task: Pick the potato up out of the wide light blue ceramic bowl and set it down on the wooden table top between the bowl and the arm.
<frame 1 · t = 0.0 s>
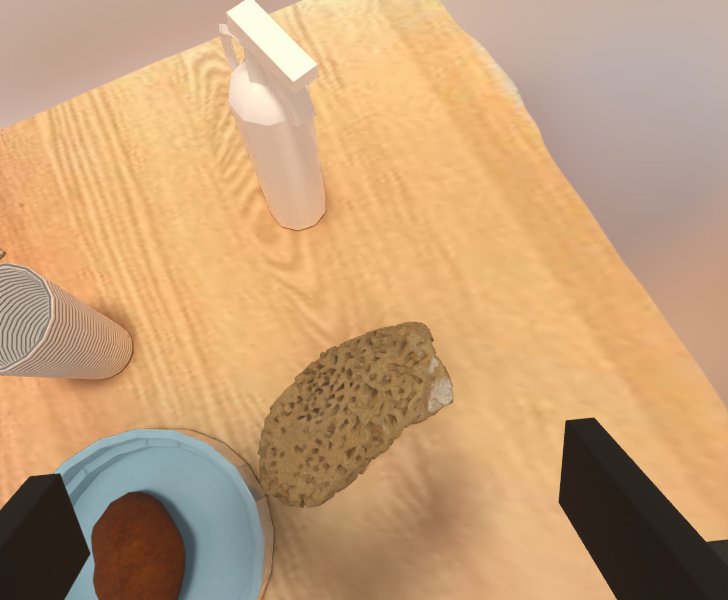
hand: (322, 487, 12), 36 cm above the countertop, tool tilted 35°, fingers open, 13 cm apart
cup: (106, 351, 50), on the countertop
sponge: (352, 413, 48), on the countertop
bowl: (160, 547, 44), on the countertop
potato: (159, 547, 44), resting on bowl
fire extinguisher: (294, 198, 55), on the countertop
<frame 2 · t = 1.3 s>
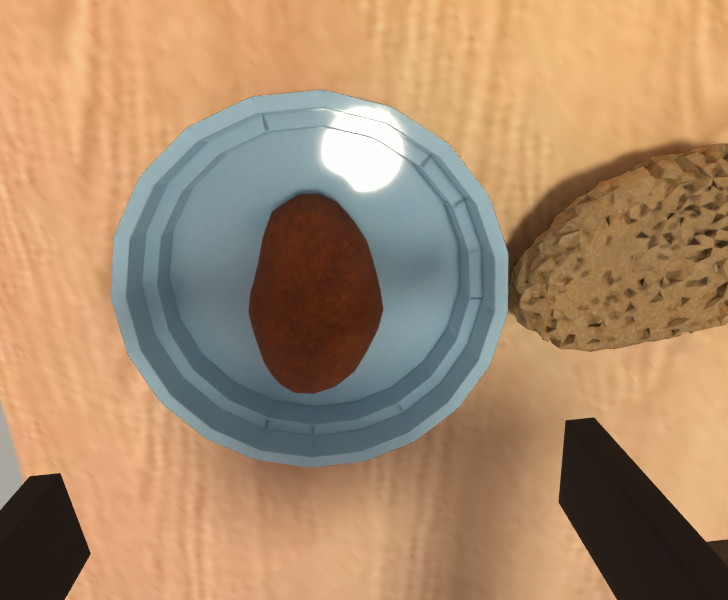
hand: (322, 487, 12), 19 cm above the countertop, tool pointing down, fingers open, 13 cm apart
sponge: (646, 242, 31), on the countertop
bowl: (318, 278, 31), on the countertop
potato: (318, 279, 30), resting on bowl
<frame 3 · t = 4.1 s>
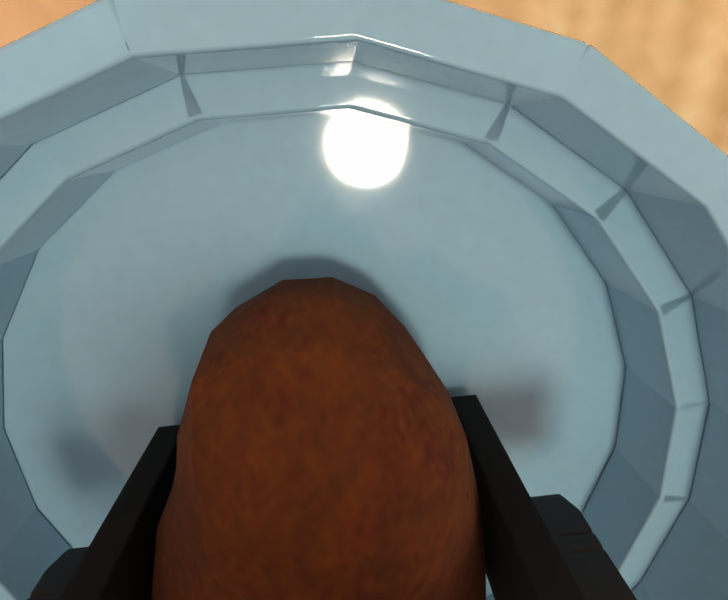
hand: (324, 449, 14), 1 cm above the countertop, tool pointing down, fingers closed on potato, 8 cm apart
bowl: (326, 429, 15), on the countertop
potato: (326, 433, 15), resting on bowl, touching gripper
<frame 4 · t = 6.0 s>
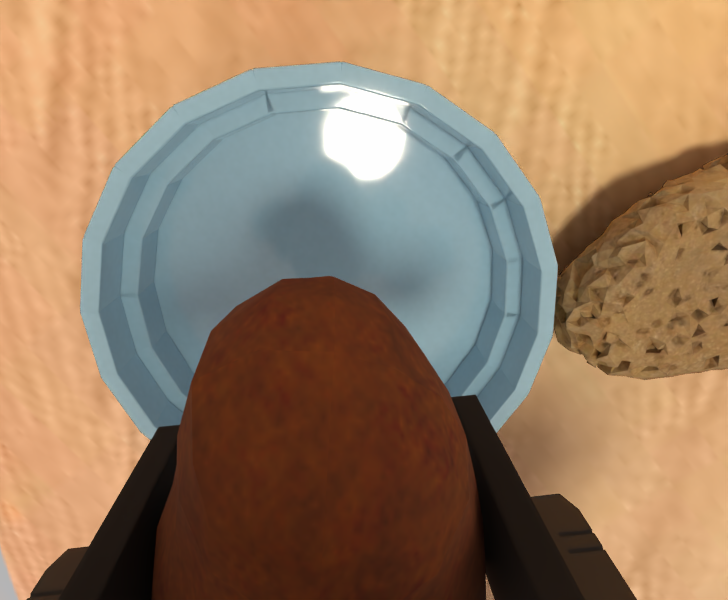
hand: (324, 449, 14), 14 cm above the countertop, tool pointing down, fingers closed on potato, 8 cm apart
sponge: (705, 251, 27), on the countertop
bowl: (327, 287, 26), on the countertop
potato: (326, 432, 15), point 13 cm above the countertop, touching gripper
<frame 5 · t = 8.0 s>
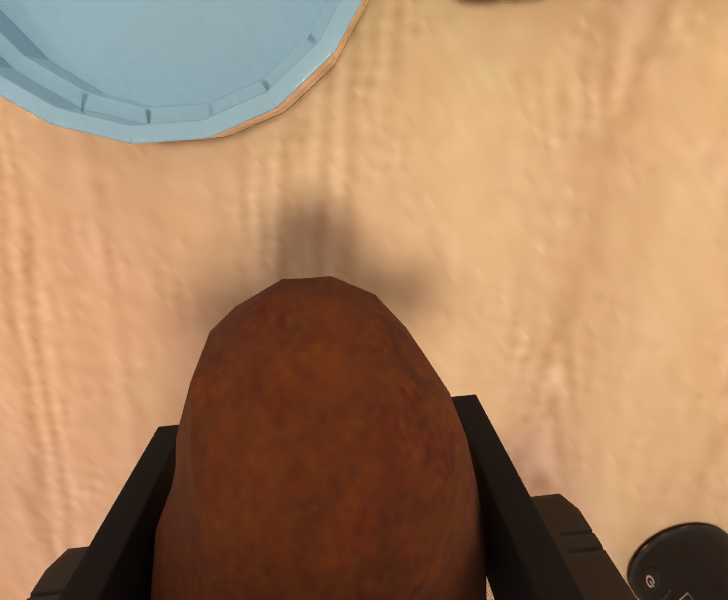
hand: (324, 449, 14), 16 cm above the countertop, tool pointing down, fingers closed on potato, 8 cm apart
potato: (326, 433, 15), point 16 cm above the countertop, touching gripper
milk frother: (710, 576, 41), on the countertop
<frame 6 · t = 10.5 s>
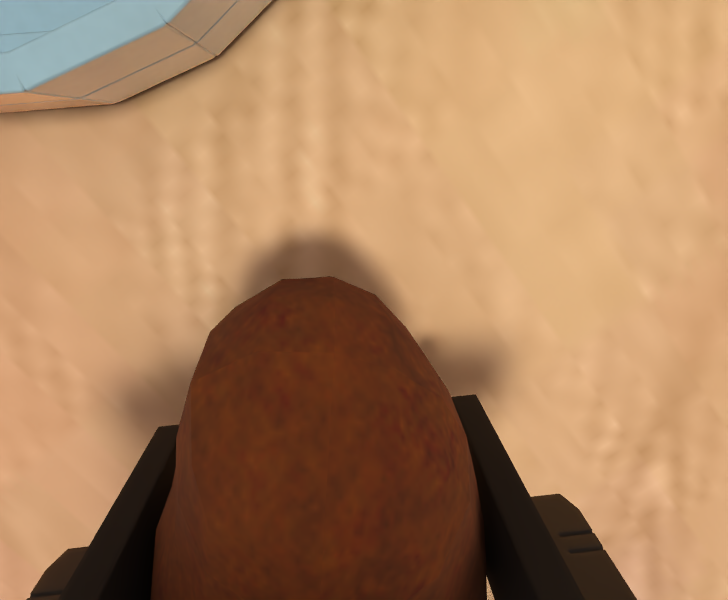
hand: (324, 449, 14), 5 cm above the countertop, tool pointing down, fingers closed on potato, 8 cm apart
potato: (326, 433, 15), point 4 cm above the countertop, touching gripper
when the fingers open (0 cm above the countertop, at t = 12.0 s): potato stays where it is, on the countertop.
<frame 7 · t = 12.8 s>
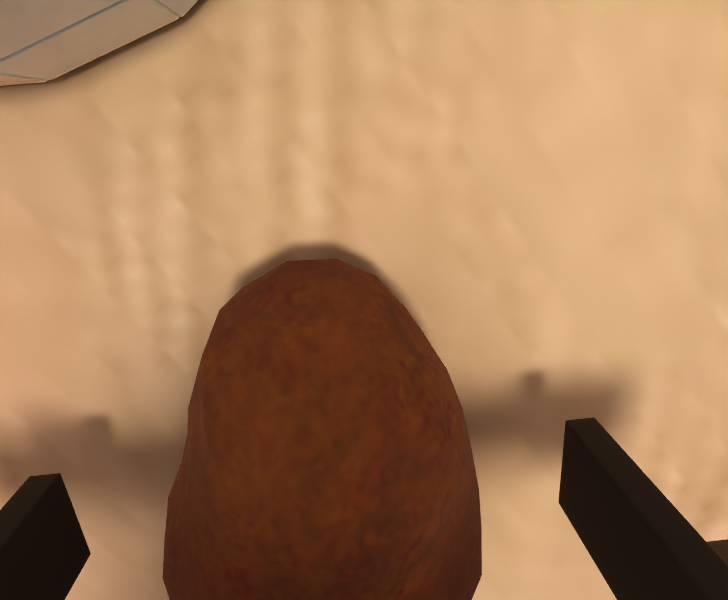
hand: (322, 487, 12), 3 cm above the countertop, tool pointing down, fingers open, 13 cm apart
potato: (328, 414, 15), on the countertop
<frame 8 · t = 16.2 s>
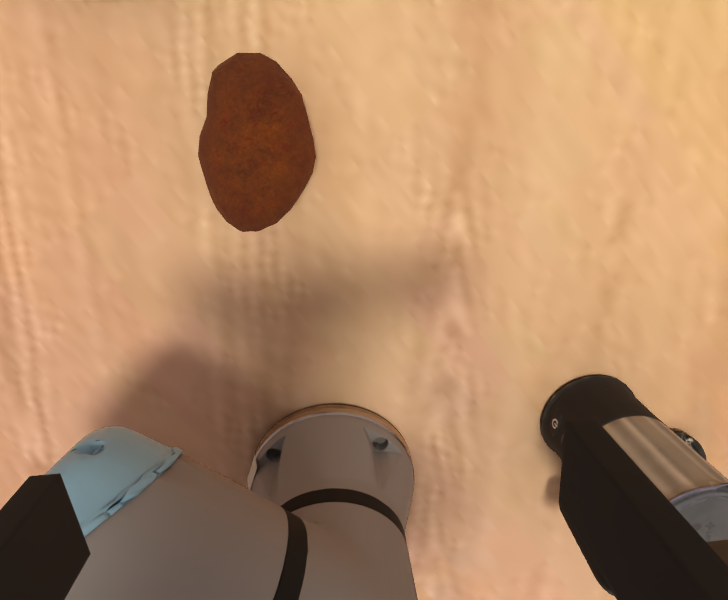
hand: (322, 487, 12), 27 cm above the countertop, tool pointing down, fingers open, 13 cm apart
potato: (265, 144, 35), on the countertop
milk frother: (617, 431, 46), on the countertop
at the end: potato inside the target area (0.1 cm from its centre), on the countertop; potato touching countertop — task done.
